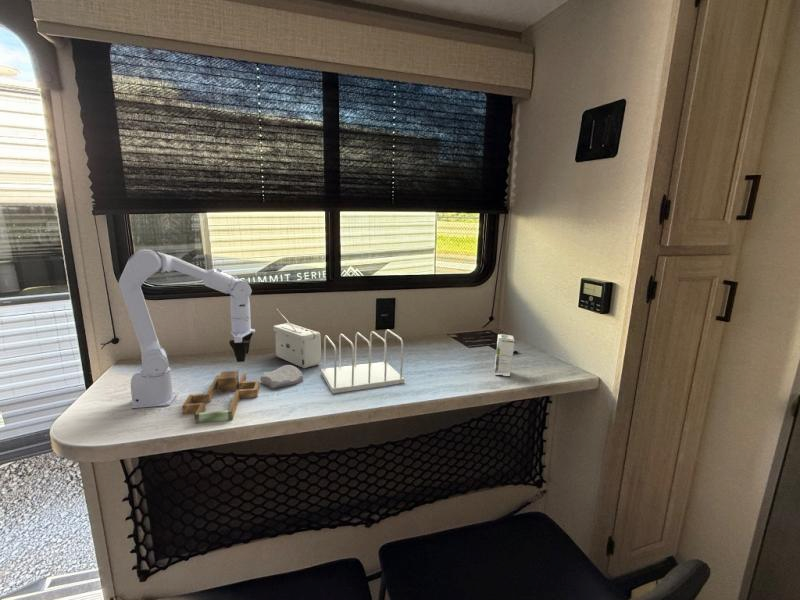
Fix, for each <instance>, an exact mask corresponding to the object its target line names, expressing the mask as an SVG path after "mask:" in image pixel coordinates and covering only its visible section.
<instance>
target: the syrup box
mask: <svg viewBox="0 0 800 600" xmlns="http://www.w3.org/2000/svg"><path fill="white" fill-rule="evenodd" d="M514 349H515V337H514V335H510V334H504V333H503V334H502V333H500V334H497V341H496V349H495V358H494V359H495V361H494V369H495V372H494V374H495V373H511V374H512V367H513V356H514Z"/></svg>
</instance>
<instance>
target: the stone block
mask: <svg viewBox="0 0 800 600" xmlns="http://www.w3.org/2000/svg"><path fill="white" fill-rule="evenodd" d="M302 381H304V375H303V372H302V371H301V370H300V368H298V367H296V366H294V365H291V364H286V365H282V366H279V367H277V368H276V369H275V370H272V371H264V372H263V373H262V374H261V377H260V382H261V384H263V385H264V386H268V387H269V388H271V389H278V388H284V387H288V386H291V385H296V384H299V383H301V382H302Z"/></svg>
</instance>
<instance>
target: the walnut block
mask: <svg viewBox="0 0 800 600" xmlns="http://www.w3.org/2000/svg"><path fill="white" fill-rule="evenodd" d="M219 375H220V376H219V378H218V388H217V389H218V393H223V392H236V390H238V388H239V382H240V379H239V370H230V371H228V370H227V371H221V372H220V374H219Z"/></svg>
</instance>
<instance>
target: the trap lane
mask: <svg viewBox="0 0 800 600" xmlns="http://www.w3.org/2000/svg"><path fill="white" fill-rule="evenodd" d="M219 376H220V374H218V375H216V376H215V377H214V379H213V381H212V383H211V385H210V387H209V389H208V390H207V392H206V393H198V394H197V393H196V394H189V395H188V397H187V398H186V399H185V401H184V402H183V404H182V406H181V407H182V409H181V410H182V415H189V414H194V424H205V423H212V422H213V423H214V422H222V421H232V420H234V417H235V414H236V411H237V408H238V406H239V402H240V399H248V398H250V399H251V398H258V396H259V392H260V388H261V386H260V382H261V380H250V381H247V373H242V374H241V377H240V379H239V384H238V389H236V391H234V395H233V397H232V400H231V403H230V406H229V409H227V410H225V409H224V410H216V411H207V409H206V408H207V407H206V404H208V403H211V402H212V399H213V398H214V396H215V393H216V391H217V389H218V378H219Z"/></svg>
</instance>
